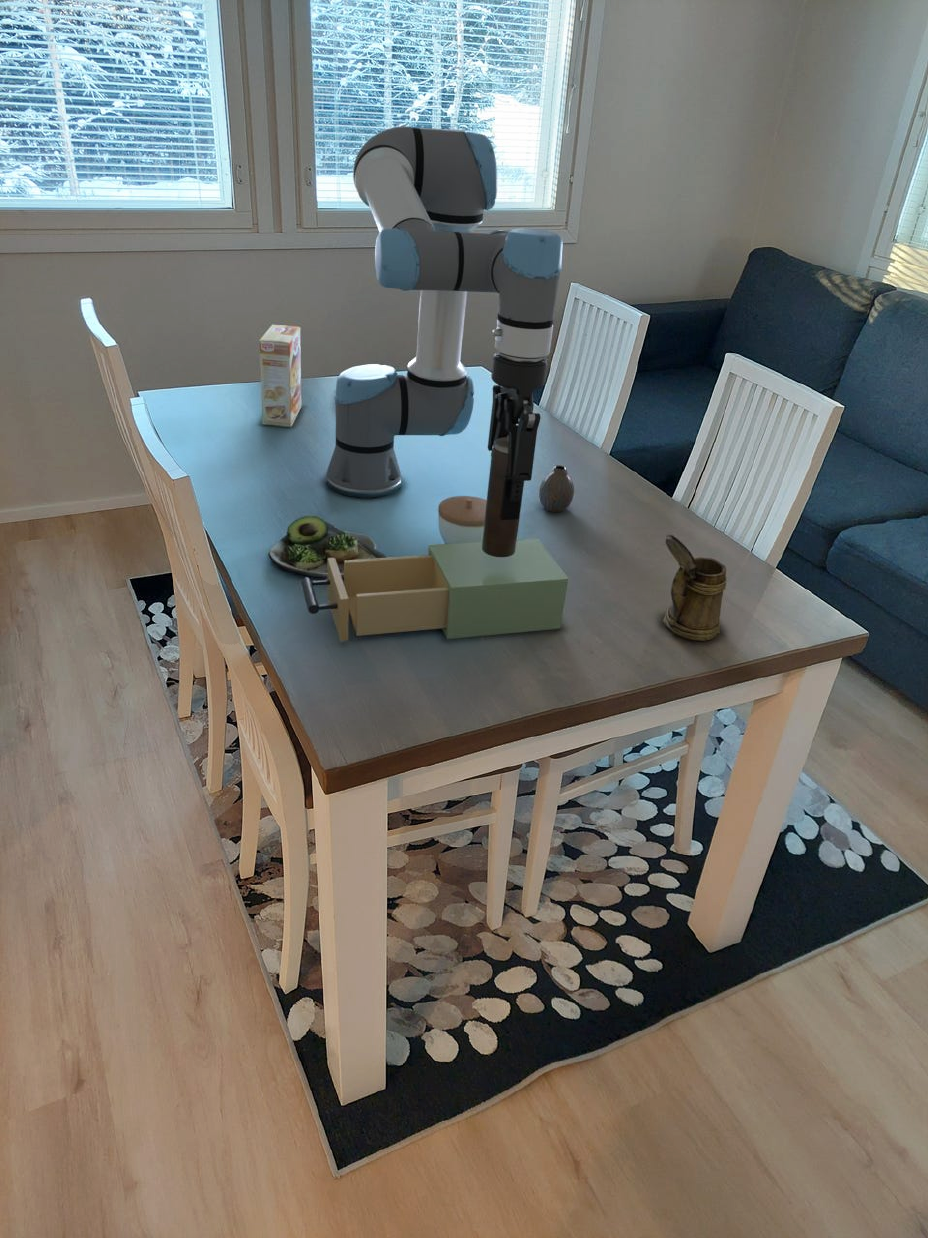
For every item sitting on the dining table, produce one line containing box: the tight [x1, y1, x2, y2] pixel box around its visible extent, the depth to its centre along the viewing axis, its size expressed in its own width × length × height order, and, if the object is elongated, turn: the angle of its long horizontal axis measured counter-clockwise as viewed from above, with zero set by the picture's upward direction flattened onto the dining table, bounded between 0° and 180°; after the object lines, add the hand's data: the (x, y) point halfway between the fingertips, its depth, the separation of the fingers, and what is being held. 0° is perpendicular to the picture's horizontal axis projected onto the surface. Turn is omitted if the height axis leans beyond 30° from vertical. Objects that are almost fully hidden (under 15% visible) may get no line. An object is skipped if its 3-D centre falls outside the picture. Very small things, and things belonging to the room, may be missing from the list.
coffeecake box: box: [258, 324, 302, 428], centre depth 202 cm, size 15×7×20 cm, turn 179°
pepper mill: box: [482, 435, 525, 557], centre depth 128 cm, size 5×5×19 cm
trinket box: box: [437, 495, 487, 544], centre depth 155 cm, size 11×11×9 cm
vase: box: [538, 464, 575, 513], centre depth 173 cm, size 7×7×9 cm
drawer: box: [300, 554, 450, 642], centre depth 132 cm, size 22×12×7 cm, turn 106°
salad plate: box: [267, 515, 388, 579], centre depth 149 cm, size 19×18×5 cm
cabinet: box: [427, 537, 569, 640], centre depth 137 cm, size 19×14×9 cm
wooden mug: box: [663, 534, 728, 642], centre depth 135 cm, size 9×14×18 cm, turn 118°
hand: (503, 509), depth 130 cm, fingers closed on pepper mill, 5 cm apart
